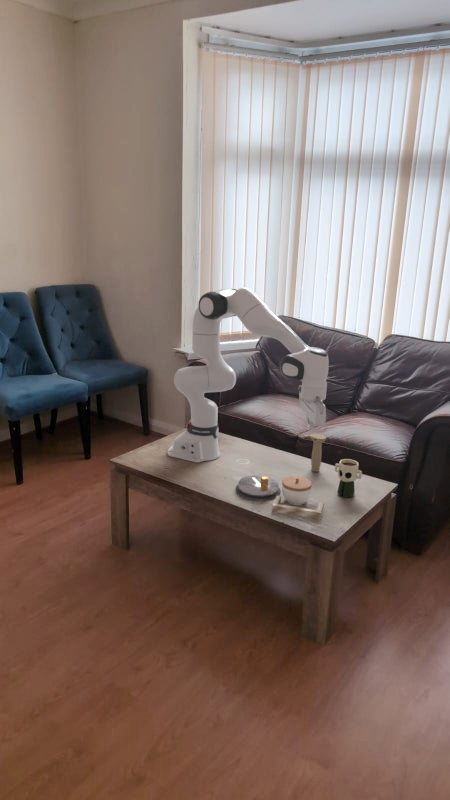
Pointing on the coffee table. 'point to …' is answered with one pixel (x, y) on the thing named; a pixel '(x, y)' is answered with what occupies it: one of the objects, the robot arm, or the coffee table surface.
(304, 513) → the cream u-shaped bracket
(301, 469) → the coffee table surface
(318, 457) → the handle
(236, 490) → the base
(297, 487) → the lidded jar
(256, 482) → the turntable
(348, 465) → the character mug
